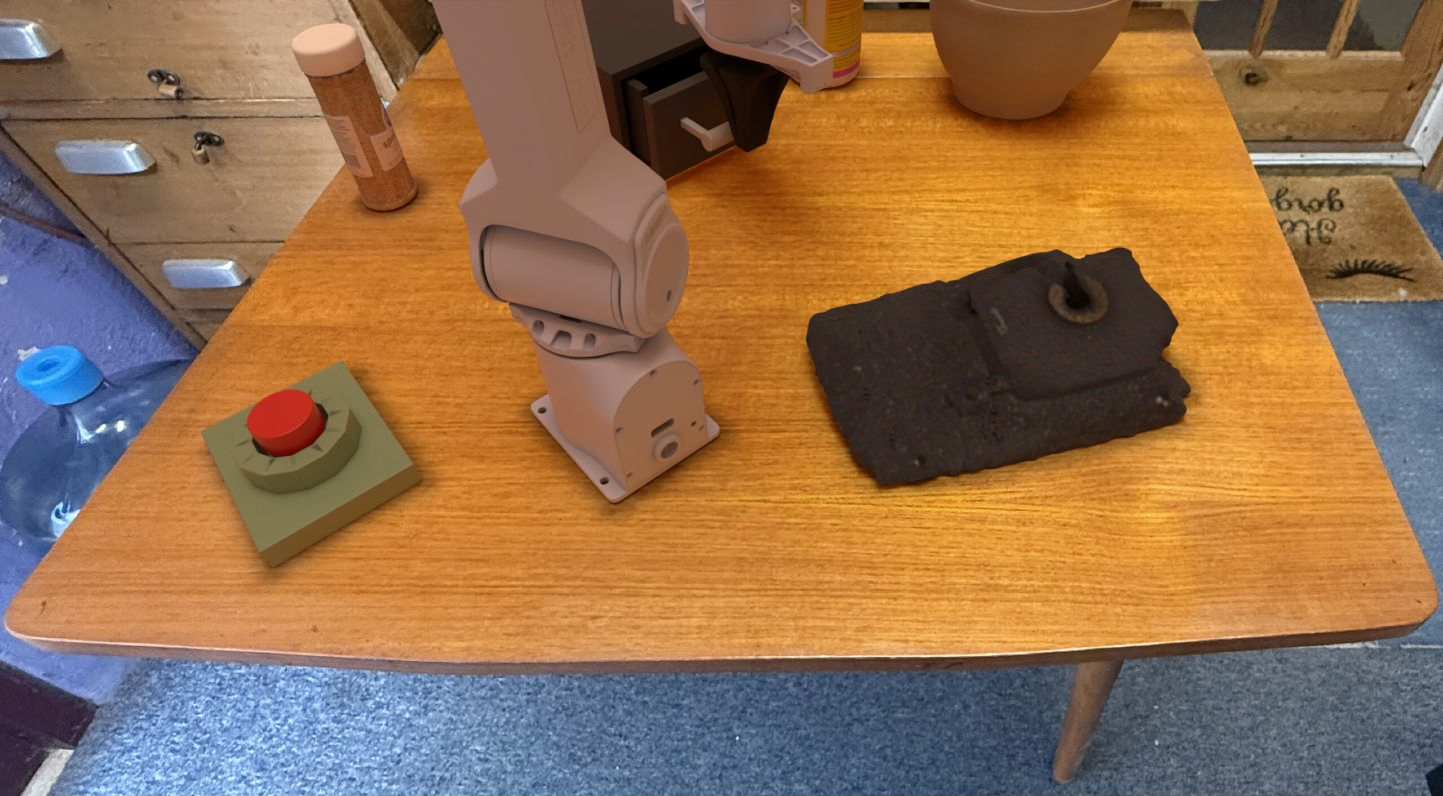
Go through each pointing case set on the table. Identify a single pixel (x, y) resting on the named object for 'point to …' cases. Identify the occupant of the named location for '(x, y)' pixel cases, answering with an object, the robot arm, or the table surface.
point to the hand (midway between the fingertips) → (751, 144)
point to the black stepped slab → (999, 365)
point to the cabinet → (632, 48)
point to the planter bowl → (1022, 50)
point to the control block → (312, 469)
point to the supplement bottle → (835, 33)
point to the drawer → (675, 115)
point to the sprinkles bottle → (355, 113)
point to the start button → (285, 422)
